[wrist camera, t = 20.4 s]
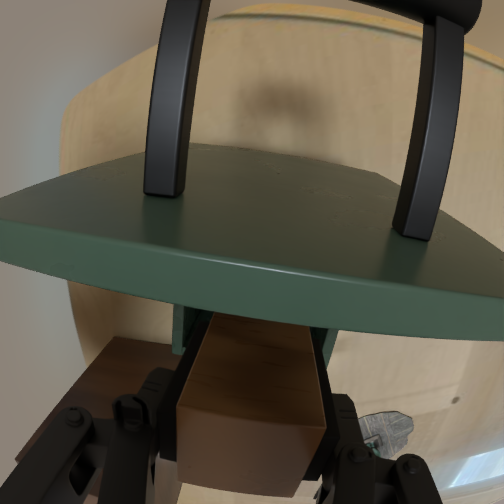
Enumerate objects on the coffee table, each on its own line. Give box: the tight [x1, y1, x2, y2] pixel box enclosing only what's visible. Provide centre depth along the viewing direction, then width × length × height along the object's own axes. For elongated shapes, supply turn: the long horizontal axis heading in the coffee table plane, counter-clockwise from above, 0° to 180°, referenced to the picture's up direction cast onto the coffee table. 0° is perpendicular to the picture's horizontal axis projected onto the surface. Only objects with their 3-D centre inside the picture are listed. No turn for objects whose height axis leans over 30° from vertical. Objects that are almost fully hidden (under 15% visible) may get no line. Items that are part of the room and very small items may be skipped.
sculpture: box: [358, 412, 414, 459], centre depth 35 cm, size 12×9×8 cm
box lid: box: [0, 0, 504, 341], centre depth 10 cm, size 15×12×7 cm
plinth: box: [15, 337, 183, 504], centre depth 24 cm, size 10×10×20 cm
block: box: [176, 312, 327, 498], centre depth 12 cm, size 4×4×8 cm
